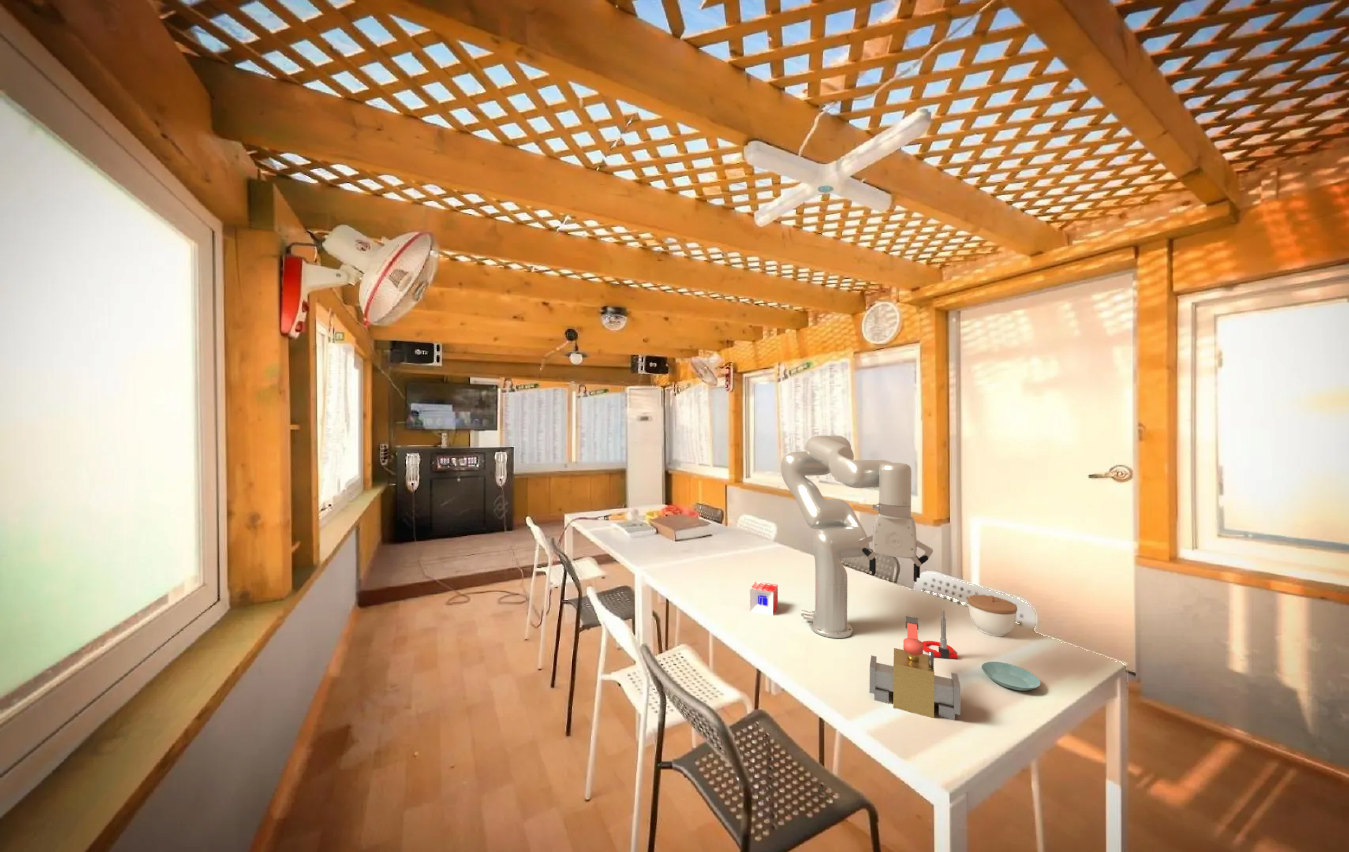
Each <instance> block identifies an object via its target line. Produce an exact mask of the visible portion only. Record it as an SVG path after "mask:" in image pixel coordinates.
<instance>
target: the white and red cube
mask: <svg viewBox="0 0 1349 852" xmlns="http://www.w3.org/2000/svg"><path fill="white" fill-rule="evenodd" d="M778 599H779V585H778V584H776V583H769V582H761V581H755V582H753V584H752V585H751V587H750V588H749V612H751V611H752V612H751V613H758V614H762V613H764V614H763V615H769V616H774V615H775V613H776V611H777V609H778V608H777V607H779V603H778V602H779V601H778Z"/></svg>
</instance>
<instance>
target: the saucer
mask: <svg viewBox="0 0 1349 852" xmlns="http://www.w3.org/2000/svg"><path fill="white" fill-rule="evenodd" d="M981 670H982V671H983V673H984V674H985V675H987V677H989V679H991V680H992V681H993V682H995V683H996V684H998V685H1000V686H1002V687H1004V688H1006V689H1009V690H1013V691H1022V692H1023V691H1031V690H1034V689H1036V688H1038V687H1039V686H1041V680H1040V678H1038V677H1037V676H1036V675H1035V674H1034V673H1032V672H1031V671H1028V670H1027V669H1024V668H1023V667H1020V666H1017V665H1015V664H1011V663H1006V662H1002V661H986V662H984V663H983V664H981Z"/></svg>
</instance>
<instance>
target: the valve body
mask: <svg viewBox="0 0 1349 852" xmlns="http://www.w3.org/2000/svg"><path fill="white" fill-rule="evenodd" d="M934 662H935V657H934V652H933V651H929V652H928V654H926V653H923V654H922V655H913V654H909V653H907V652H905V651H904V649H901V648H896V647H894V648H893V665H891V664H890V665H889V664H885V663H881V662H877V656H875V655H871V656H870V662H869V693H870V694H873V696H874V697H873V700H874V701H877V702H880V703H885V704H890V703H889V700H890V699H889V698H890V692H893V696H892V698H893V699H892V700H893V701H892V704H893V705H892V707H893V709H898V710H902V711H905V712H908V713H909V712H910V713H913V714H917V715H922V716H925V717H929V718H933V719H934V718H935V703H937V704H936V705H937V711H938V712H937V713H938V714H937V715H938V716H939V717H940V718H945V719H949V720H953V721H955V720H956V715H958V716H961V703H962V702H961V700H962V699H961V696H962V695H961V694H962V693H961V691H962V690H961V683H960V679H959V675H958V673H957V672H951V673H950V678H948V677H944V676H941V675H940V676H939V675H935V668H934V666H935V663H934Z"/></svg>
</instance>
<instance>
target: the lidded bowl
mask: <svg viewBox="0 0 1349 852" xmlns="http://www.w3.org/2000/svg"><path fill="white" fill-rule="evenodd" d="M967 604H968V605H967V608H968V614H969V617H970V620H971V621H972V623H973V625H974V626H975V627H976V628H977V630H978V631H980V632H981V633H983V634H985V635H988V636H993V637H1005V636H1006V635H1007V634H1009V633H1010V632H1012V630H1014V627H1015V625H1016V622H1017V621H1016V620H1017V613H1018V606H1017V605H1016V604H1015V603H1013V602H1011V601H1009V600H1007V599H1003V598H1001V597H997V596H994V595H991V594H990V595H986V594H972V595H970V596H968V597H967Z"/></svg>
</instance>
